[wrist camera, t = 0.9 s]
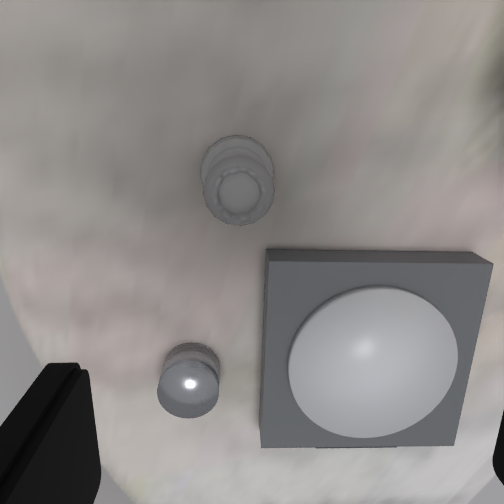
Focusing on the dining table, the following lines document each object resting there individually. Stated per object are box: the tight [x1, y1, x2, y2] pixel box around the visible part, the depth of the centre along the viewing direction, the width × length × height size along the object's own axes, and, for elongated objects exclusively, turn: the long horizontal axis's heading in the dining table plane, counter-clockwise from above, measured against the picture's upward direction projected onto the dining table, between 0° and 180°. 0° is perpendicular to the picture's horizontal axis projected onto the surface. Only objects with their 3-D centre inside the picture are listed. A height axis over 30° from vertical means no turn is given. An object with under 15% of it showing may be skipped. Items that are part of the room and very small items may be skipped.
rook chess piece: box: [201, 135, 275, 226], centre depth 22 cm, size 4×4×8 cm
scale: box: [259, 249, 493, 448], centre depth 29 cm, size 15×14×3 cm
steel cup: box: [157, 343, 220, 418], centre depth 29 cm, size 4×4×3 cm
